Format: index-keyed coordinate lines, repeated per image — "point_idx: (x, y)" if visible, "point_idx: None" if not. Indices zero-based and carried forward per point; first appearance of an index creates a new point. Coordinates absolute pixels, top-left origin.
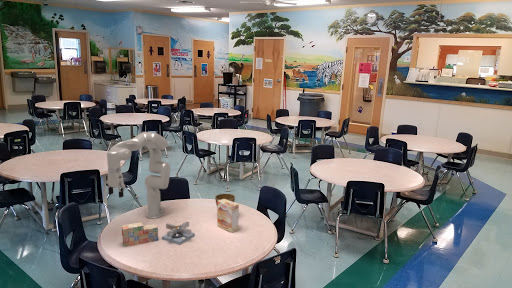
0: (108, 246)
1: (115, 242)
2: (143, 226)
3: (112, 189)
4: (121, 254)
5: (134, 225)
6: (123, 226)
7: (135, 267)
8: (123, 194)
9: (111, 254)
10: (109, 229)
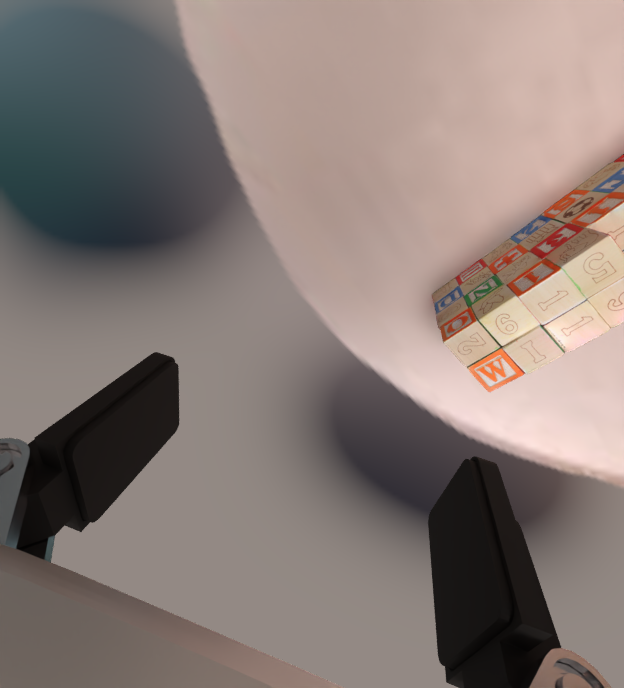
0: (378, 346)
1: (388, 302)
2: (610, 226)
3: (108, 436)
4: (488, 396)
5: (561, 321)
6: (466, 354)
7: (614, 474)
8: (508, 499)
9: (438, 403)
10: (247, 167)
